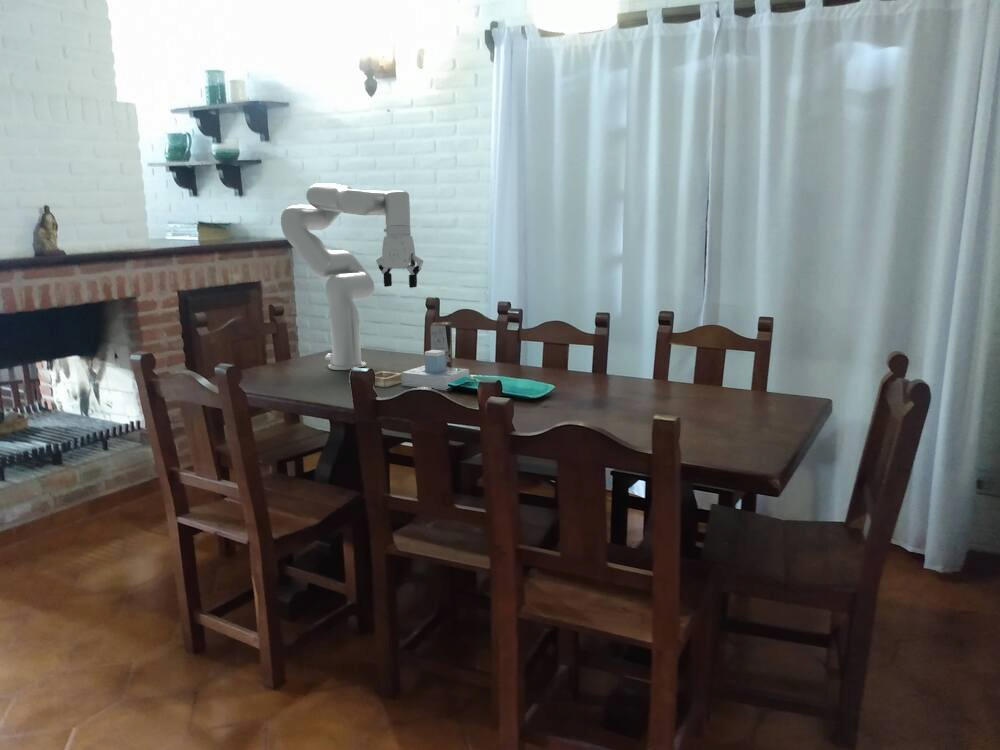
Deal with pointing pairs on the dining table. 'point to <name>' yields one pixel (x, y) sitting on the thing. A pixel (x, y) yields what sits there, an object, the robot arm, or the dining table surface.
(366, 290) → the robot arm
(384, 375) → the wooden square frame
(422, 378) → the port
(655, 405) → the dining table surface
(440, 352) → the plug
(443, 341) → the coffee box
